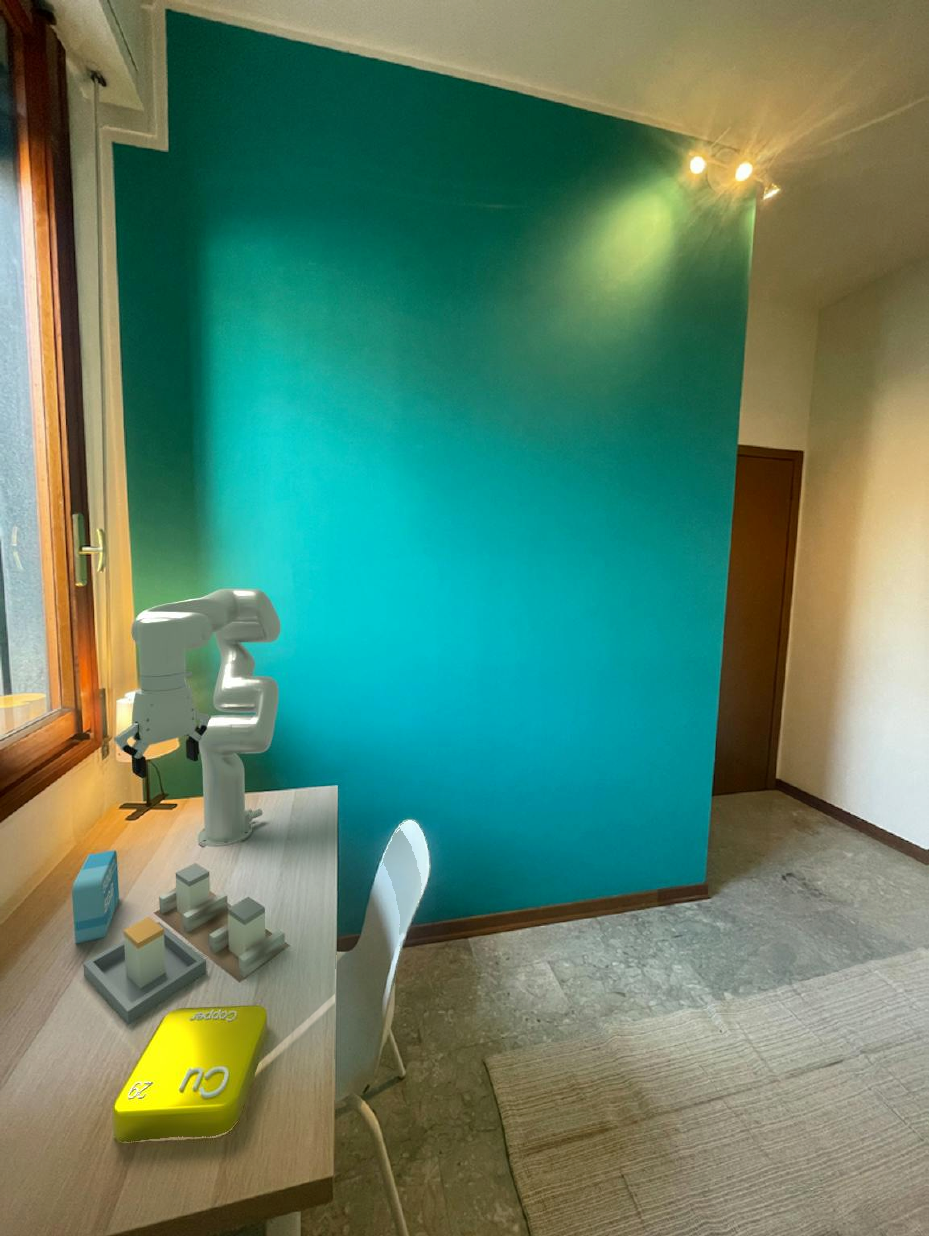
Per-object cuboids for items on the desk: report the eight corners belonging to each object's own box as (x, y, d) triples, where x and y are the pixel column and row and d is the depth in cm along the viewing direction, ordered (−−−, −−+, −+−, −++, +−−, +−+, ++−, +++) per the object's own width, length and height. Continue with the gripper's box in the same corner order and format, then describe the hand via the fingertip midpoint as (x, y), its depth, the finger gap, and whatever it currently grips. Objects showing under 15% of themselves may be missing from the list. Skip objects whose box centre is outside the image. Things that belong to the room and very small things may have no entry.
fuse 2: (249, 936, 94) (248, 896, 93) (265, 948, 91) (264, 907, 90) (229, 950, 91) (227, 908, 90) (245, 962, 88) (244, 920, 87)
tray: (159, 936, 95) (158, 921, 94) (206, 976, 86) (206, 960, 86) (84, 979, 85) (83, 963, 84) (128, 1029, 76) (127, 1011, 76)
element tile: (271, 1029, 77) (270, 1000, 76) (233, 1140, 62) (232, 1106, 62) (169, 1033, 76) (167, 1004, 75) (105, 1148, 61) (103, 1113, 61)
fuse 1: (196, 899, 104) (195, 863, 103) (210, 909, 101) (209, 871, 100) (177, 910, 101) (175, 872, 100) (190, 920, 98) (189, 882, 97)
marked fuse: (151, 959, 88) (149, 916, 87) (165, 972, 85) (163, 928, 85) (125, 974, 85) (123, 930, 84) (140, 988, 82) (137, 943, 81)
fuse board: (203, 890, 108) (202, 873, 108) (290, 949, 92) (289, 930, 92) (153, 916, 100) (153, 898, 99) (239, 986, 84) (239, 965, 84)
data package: (105, 942, 93) (101, 881, 92) (75, 949, 91) (71, 886, 90) (119, 901, 104) (116, 846, 103) (93, 907, 102) (89, 851, 101)
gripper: (197, 671, 106) (200, 750, 107) (103, 687, 91) (108, 777, 93) (218, 676, 101) (220, 758, 103) (122, 694, 87) (127, 788, 89)
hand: (167, 767), depth 98 cm, fingers open, 9 cm apart
